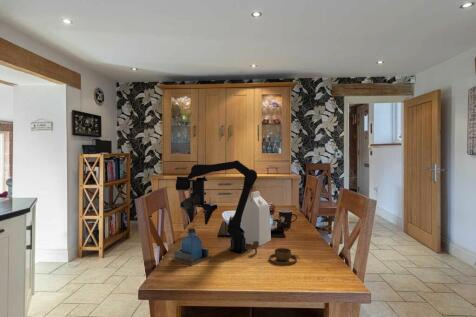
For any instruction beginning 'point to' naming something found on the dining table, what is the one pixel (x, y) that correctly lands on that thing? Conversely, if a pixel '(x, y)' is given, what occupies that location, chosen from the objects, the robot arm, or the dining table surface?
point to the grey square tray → (190, 257)
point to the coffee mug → (286, 218)
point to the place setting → (279, 255)
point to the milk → (256, 220)
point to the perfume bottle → (192, 244)
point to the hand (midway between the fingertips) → (198, 223)
